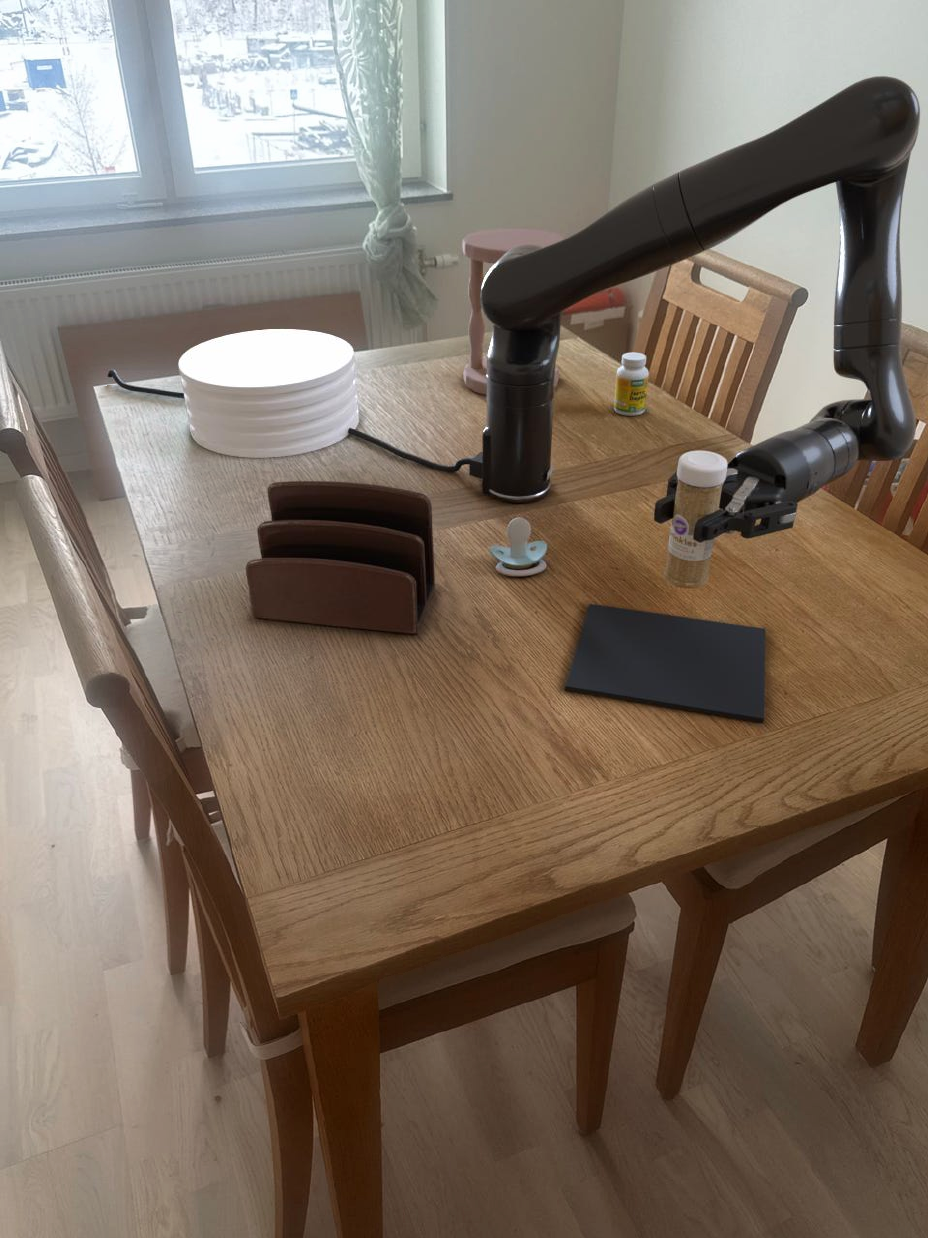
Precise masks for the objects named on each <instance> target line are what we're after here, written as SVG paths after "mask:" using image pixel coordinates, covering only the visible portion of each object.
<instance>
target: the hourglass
mask: <svg viewBox="0 0 928 1238" xmlns="http://www.w3.org/2000/svg"><path fill="white" fill-rule="evenodd" d="M564 239H565V238H564V237H563V235H561V234H558V233H556V232H553V231H549V230H543V229H538V228H536V229H535V228H526V227H525V228H523V227H503V228H493V229H492V228H491V229H485V230H479V231H475V232H473V233H468V234H467V235H466V236H465V237H464V238H463V239H462V252H463V254H464V256H465V257H466V258H469V279H468V280H469V281H468V287H467V295H468V299H469V303H470V306H471V314H470V318H469V322H468V328H467V329H468V330H467V331H468V332H467V333H468V340H469V349H470V351H469V353H470V354H469V355H470V356H469V359H470V360H469V363H467V364H466V366H465V368H464V369H463V382H464V384H465V386H466V387H467V388H469V389H470V390H471V391H472V392H475V393H478V394H480V395H481V394H482V395H485V396H487V356H484V346H483V345H484V342H485V341H484V339H485V334H486V333H485V332H486V328H485V327H486V326H485V321H484V317H483V314H482V313H483V312H482V307H481V301H480V295H481V289H482V285H483V281H484V279H485V277H484V263H486V264H493V265H494V264H495V263H496V262H497V261H498V260H499V259H500V258H501V257H502V256H503V255H504V254H505V253H507V252H508V251H509V250H511V249H513V248H515V247H517V246H521V245H536V246H539V247H542V248H544V247H546V246H549V245H551V244H554V243H557V242H559V241H561V240H564ZM490 269H491V267H489V268H488V269H487V270H486V274H487V273H488V271H489V270H490ZM559 378H560V370H559V368H558V367H557V366H556V365H555V382H554V388H556V387H557V385H558V382H559V380H560V379H559Z"/></svg>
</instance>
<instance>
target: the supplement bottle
mask: <svg viewBox="0 0 928 1238" xmlns="http://www.w3.org/2000/svg"><path fill="white" fill-rule="evenodd" d="M620 364H621V366H620V367H618V368H617V371H616V378H615V388H614V389H615V391H614V405H613V409H614V412H615V413H616V414H619V415H621V416H626V417H635V416H640V415H643V413H645V411H646V404H647V396H648V385H649V378H650V377H649V376H650V372H649V370H648V368H647V367H646V364H647V355H645V354H643V353H641V352H635V351H634V352H626V353H623V354H622V356H621V363H620Z"/></svg>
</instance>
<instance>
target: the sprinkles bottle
mask: <svg viewBox="0 0 928 1238" xmlns="http://www.w3.org/2000/svg"><path fill="white" fill-rule="evenodd" d="M727 465H728V461H727V459H726V458H725V457H724V456H723V455H721V454H718V453H717V452H713V451H709V450H690V451H687V452H685V453H683V454H681V456H679V458H678V463H677V470H676V471H677V477H678V478H677V479H678V485H677V492H676V498H675V505H674V512H673V518H672V519H671V522H670V523H671V524H670V531H669V537H668V544H667V545H668V546H667V549H668V550H667V556H666V557H667V558H666V565H665V569H664V571H663V576H664V579H665V580H666V581H667V582H668V583H669V584H671V585H673V586H675V587H678V588H682V589H698V588H700V587H702V586H704V585H706V583H708V581H709V577H710V576H709V575H710V574H709V569H710V564H711V558H712V554H713V549H714V544H715V543H714V542H715V538H714V539H712V540H705V541H703V542H701V543H700V542H697V541H695V540H694V539H693V535H694V528H695V524H696V522H697V521H698V520H699V519H701V518H703V517H705V516H707V515H709V514H711V513H713V512H715V511H717V510H719V509H720V508H719V503H720V496H721V491H722V485H723V483H724V481H725V478H726V472H727Z"/></svg>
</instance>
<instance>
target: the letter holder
mask: <svg viewBox="0 0 928 1238" xmlns="http://www.w3.org/2000/svg"><path fill="white" fill-rule="evenodd" d="M266 493H267V498H268V499H267V500H268V505H269V511H270V516H271V520H265V521H263V522H261V523H260V524H259V525H258V526H257V528H256V532H257V533H256V534H257V540H258V545H259V546H258V547H259V552H260V557H261V558H255V559H251V560H248V561H247V563H246V565H245V575H246V579H247V586H248V594H249V601H250V607H251V612H252V617H253V618H254V619H262V620H272V621H281V622H282V621H283V622H289V623H299V624H300V623H302V624H311V625H319V626H329V627H338V628H339V627H340V628H348V629H349V628H351V629H359V630H368V631H378V632H385V633H386V632H388V633H397V634H407V635H418V634H419V631H420V629H421V626H422V623H423V621H424V619H425V616H426V614H427V611H428V609H429V606H430V604H431V602H432V600H433V596H434V594H435V590H436V578H435V575H436V574H435V552H434V551H435V549H434V536H433V535H434V533H433V531H434V529H433V507H432V503H431V502H432V501H431V500H430V499H429V497H428V496H427V495H425V494H424V493H421V492H418V491H414V490H413V491H412V490H407V489H404V488H403V489H402V488H398V487H392V486H387V485H381V484H379V485H378V484H373V483H372V484H371V483H363V482H353V481H352V482H350V481H334V480H333V481H330V480H329V481H327V480H291V481H290V480H289V481H276V482H273V483H270V484H269V485H268V486H267V490H266Z"/></svg>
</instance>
